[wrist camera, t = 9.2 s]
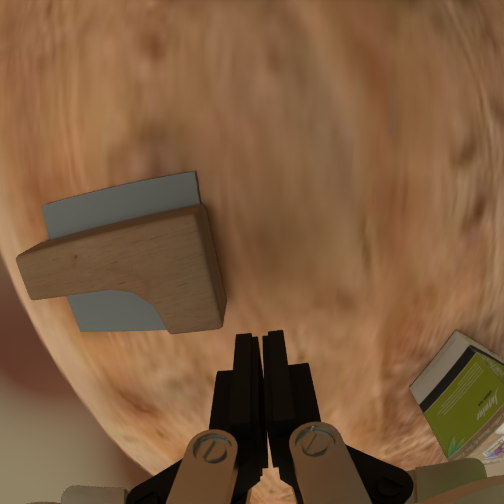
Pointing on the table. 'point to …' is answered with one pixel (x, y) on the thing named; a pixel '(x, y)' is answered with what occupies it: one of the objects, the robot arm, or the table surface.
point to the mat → (107, 212)
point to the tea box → (464, 400)
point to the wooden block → (137, 266)
